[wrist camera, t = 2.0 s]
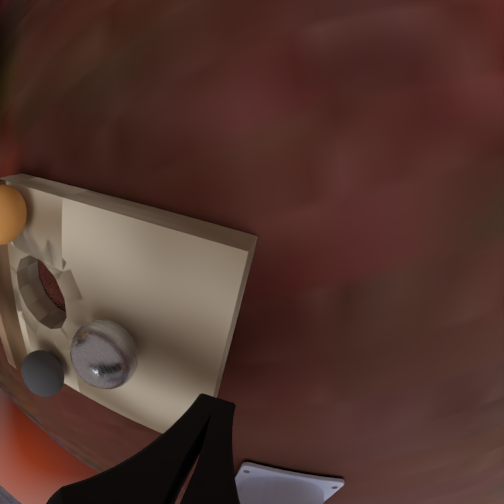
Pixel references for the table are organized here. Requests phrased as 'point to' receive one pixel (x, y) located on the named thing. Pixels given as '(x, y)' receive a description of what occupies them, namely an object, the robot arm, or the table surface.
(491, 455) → the table surface
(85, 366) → the steel ball
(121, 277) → the bearing plate
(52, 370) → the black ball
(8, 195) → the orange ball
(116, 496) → the robot arm
